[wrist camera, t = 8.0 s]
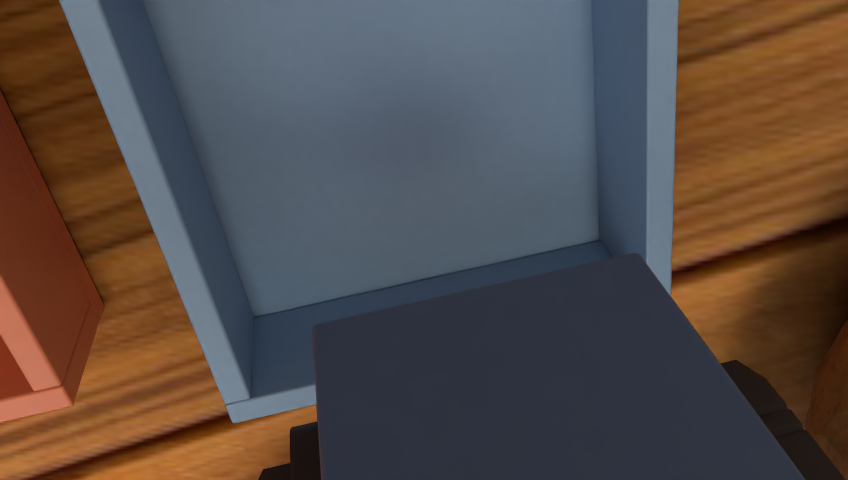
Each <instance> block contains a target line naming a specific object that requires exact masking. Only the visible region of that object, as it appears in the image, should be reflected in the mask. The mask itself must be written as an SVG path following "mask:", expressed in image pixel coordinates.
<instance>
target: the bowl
mask: <svg viewBox="0 0 848 480" xmlns="http://www.w3.org/2000/svg"><path fill="white" fill-rule="evenodd" d="M806 430H807V431H808V432H809V434H810V435H811V436H812V437H813V439H814V440H815V441H816V443H817V444H818V445H819V446H820V448H821V449H822V450H823V451H824V453H825V454H826V455H827V456H828V458H829V459H830V460H831V461H832V463H833V464H834V465H835V467H836V468H837V469H838V470H839V472H840V473H841V474H842V475H843V477H844V478H845V479H846V480H848V319H847V321H846V322H845V323H844V325H843V326H842V328H841V330H840V331H839V333H838V335H837V337H836V339H835V340H834V342H833V344H832V345H831V347H830V349H829V350H828V352H827V354H826V355H825V357H824V359H823V361H822V363H821V365H820V367H819V369H818V371H817V374H816V377H815V382H814V386H813V391H812V396H811V400H810V405H809V410H808V414H807V419H806V425H805V431H806Z"/></svg>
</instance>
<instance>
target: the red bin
mask: <svg viewBox="0 0 848 480" xmlns="http://www.w3.org/2000/svg"><path fill="white" fill-rule="evenodd" d="M103 308H104V304H103V302H102V300H101V298H100V296H99V294H98V292H97V289H96V287H95V285H94V283H93V281H92V279H91V277H90V275H89V273H88V271H87V269H86V267H85V265H84V263H83V260H82V258H81V256H80V254H79V252H78V250H77V248H76V246H75V244H74V242H73V240H72V238H71V236H70V233H69V231H68V229H67V227H66V225H65V223H64V221H63V219H62V217H61V215H60V213H59V211H58V209H57V207H56V204H55V202H54V200H53V198H52V196H51V194H50V192H49V190H48V188H47V186H46V184H45V182H44V180H43V177H42V175H41V173H40V171H39V169H38V167H37V165H36V163H35V161H34V159H33V157H32V155H31V153H30V151H29V148H28V146H27V144H26V142H25V140H24V138H23V136H22V134H21V132H20V130H19V128H18V126H17V124H16V121H15V119H14V117H13V115H12V113H11V111H10V109H9V107H8V105H7V103H6V101H5V99H4V97H3V95H2V92H1V90H0V423H1V422H6V421H10V420H14V419H19V418H23V417H28V416H32V415H36V414H41V413H45V412H50V411H54V410H58V409H63V408H67V407H71V406H73V404H74V401H75V398H76V394H77V391H78V388H79V385H80V382H81V378H82V375H83V372H84V369H85V365H86V362H87V359H88V356H89V352H90V349H91V346H92V343H93V339H94V336H95V333H96V330H97V327H98V323H99V320H100V318H101V315H102V312H103Z"/></svg>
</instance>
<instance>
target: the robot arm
mask: <svg viewBox="0 0 848 480" xmlns="http://www.w3.org/2000/svg"><path fill="white" fill-rule="evenodd" d="M721 365H722V367H723V368H724V369H725V371H726V372H727V374H728V375H729V376H730V378H731V379H732V380H733V382H734V383H735V384H736V386H737V387H738V389H739V390H740V391H741V393H742V394H743V395H744V397H745V398H746V399H747V401H748V402H749V403H750V405H751V406H752V408H753V409H754V410H755V412H756V413H757V414H758V416H759V417H760V418H761V420H762V421H763V422H764V424H765V425H766V427H767V428H768V429H769V431H770V432H771V433H772V435H773V436H774V437H775V439H776V440H777V442H778V443H779V444H780V446H781V447H782V448H783V450H784V451H785V452H786V454H787V455H788V456H789V458H790V459H791V461H792V462H793V463H794V465H795V466H796V467H797V469H798V470H799V471H800V473H801V474H802V475H803V477H804V478H805V480H846V479H845V478H844V477H843V475H842V474H841V473H840V472H839V470H838V469H837V468H836V467H835V465H834V464H833V463H832V461H831V460H830V459H829V458H828V456H827V455H826V454H825V453H824V451H823V450H822V449H821V448H820V446H819V445H818V444H817V443H816V441H815V440H814V439H813V437H812V436H811V435H810V434H809V432H808V431H807V430H806V431H805V430H804V429H803V425H802V424H801V422H800V421H799V420H798V419H797V417H796V416H795V415H794V413H793V412H792V411H791V410H790V409H789V410H788V409H787V407H786V403H785V402H784V401H783V400H782V398H781V397H780V396H779V395H778V393H777V392H776V391H775V389H774V388H773V387H772V386H771V384H770V383H769V382H768V381H767V379H765V378H764V377H762V376H761V375H759V374H758V373H756V372H754V371H753V370H751V369H750V368H748V367H747V366H745V365H743V364H742V363H740V362H739V361H737V360H734V361H729V362H725V363H721ZM258 480H321V467H320V452H319V436H318V422H314V423H309V424H305V425H301V426H296V427H292V428H291V429H290V463H289V464H284V465H280V466H276V467H272V468H267V469H263V471H262V473H261V475H260V477H259V479H258Z"/></svg>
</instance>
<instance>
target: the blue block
mask: <svg viewBox="0 0 848 480" xmlns="http://www.w3.org/2000/svg"><path fill="white" fill-rule="evenodd" d="M312 342H313V358H314V374H315V389H316V405H317V421H318V436H319V452H320V467H321V480H805V478H804V477H803V475H802V474H801V473H800V471H799V470H798V469H797V467H796V466H795V465H794V463H793V462H792V461H791V459H790V458H789V456H788V455H787V454H786V452H785V451H784V450H783V448H782V447H781V446H780V444H779V443H778V442H777V440H776V439H775V437H774V436H773V435H772V433H771V432H770V431H769V429H768V428H767V427H766V425H765V424H764V422H763V421H762V420H761V418H760V417H759V416H758V414H757V413H756V412H755V410H754V409H753V408H752V406H751V405H750V403H749V402H748V401H747V399H746V398H745V397H744V395H743V394H742V393H741V391H740V390H739V389H738V387H737V386H736V384H735V383H734V382H733V380H732V379H731V378H730V376H729V375H728V374H727V372H726V371H725V369H724V368H723V367H722V365H721V364H720V363H719V361H718V360H717V359H716V357H715V356H714V355H713V353H712V352H711V350H710V349H709V348H708V346H707V345H706V344H705V342H704V341H703V340H702V338H701V337H700V336H699V334H698V333H697V331H696V330H695V329H694V327H693V326H692V325H691V323H690V322H689V321H688V319H687V318H686V317H685V315H684V314H683V312H682V311H681V310H680V308H679V307H678V306H677V304H676V303H675V302H674V300H673V299H672V297H671V296H670V295H669V293H668V292H667V291H666V289H665V288H664V287H663V285H662V284H661V283H660V281H659V280H658V278H657V277H656V276H655V274H654V273H653V272H652V270H651V269H650V268H649V266H648V265H647V264H646V262H645V261H644V259H643V258H642V257H641V255H640V254H638V253H631V254H626V255H622V256H617V257H613V258H608V259H604V260H599V261H595V262H591V263H586V264H582V265H577V266H573V267H568V268H564V269H559V270H555V271H550V272H546V273H542V274H537V275H533V276H528V277H524V278H519V279H515V280H510V281H506V282H501V283H497V284H493V285H488V286H484V287H479V288H475V289H470V290H466V291H461V292H457V293H452V294H448V295H444V296H439V297H435V298H430V299H426V300H421V301H417V302H412V303H408V304H403V305H399V306H395V307H390V308H386V309H381V310H377V311H372V312H368V313H363V314H359V315H354V316H350V317H346V318H341V319H337V320H332V321H328V322H323V323H319V324H316V325H314V326H313V329H312Z"/></svg>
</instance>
